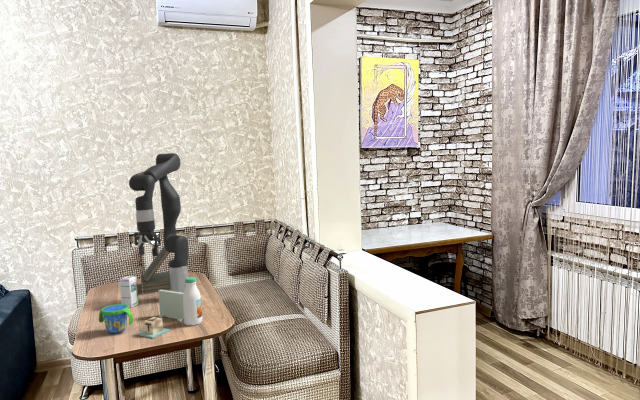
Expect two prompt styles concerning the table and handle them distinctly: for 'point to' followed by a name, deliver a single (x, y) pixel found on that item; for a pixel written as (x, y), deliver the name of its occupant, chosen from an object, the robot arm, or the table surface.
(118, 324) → the snack cup
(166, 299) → the screen
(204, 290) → the table surface
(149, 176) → the robot arm
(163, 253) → the bible
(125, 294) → the syrup box
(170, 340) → the table surface
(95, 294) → the table surface
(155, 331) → the letter cube
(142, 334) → the pad
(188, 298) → the milk bottle
